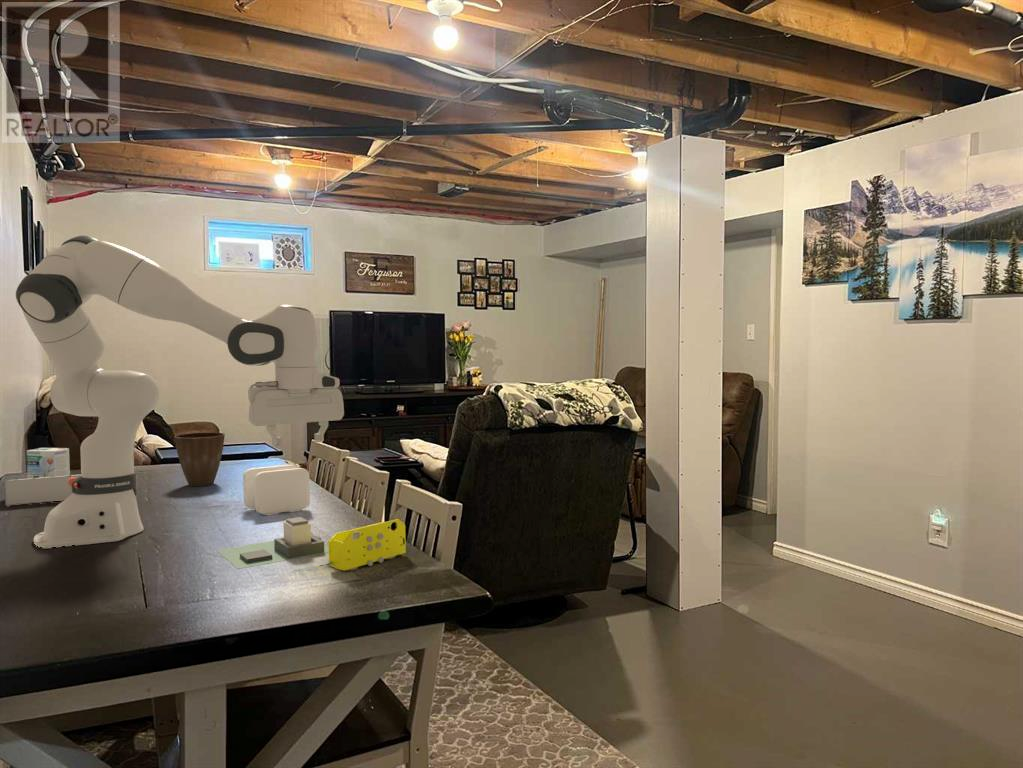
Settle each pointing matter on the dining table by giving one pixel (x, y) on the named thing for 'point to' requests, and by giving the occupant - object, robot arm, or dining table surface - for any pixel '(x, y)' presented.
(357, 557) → the yellow toy chassis
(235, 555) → the board
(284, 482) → the cable organizer
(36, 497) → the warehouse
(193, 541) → the dining table surface
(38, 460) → the light bulb box
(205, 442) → the plant pot
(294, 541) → the plug
